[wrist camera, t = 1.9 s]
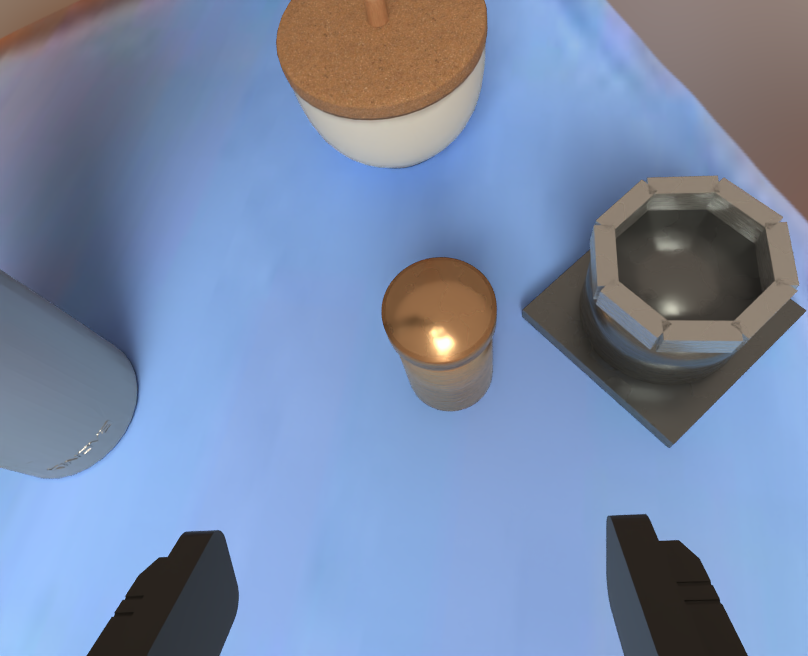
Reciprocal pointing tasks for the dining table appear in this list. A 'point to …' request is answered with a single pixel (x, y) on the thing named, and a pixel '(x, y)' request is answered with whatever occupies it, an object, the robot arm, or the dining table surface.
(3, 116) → the dining table surface
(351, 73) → the lidded bowl
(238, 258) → the dining table surface
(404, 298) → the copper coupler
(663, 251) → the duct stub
